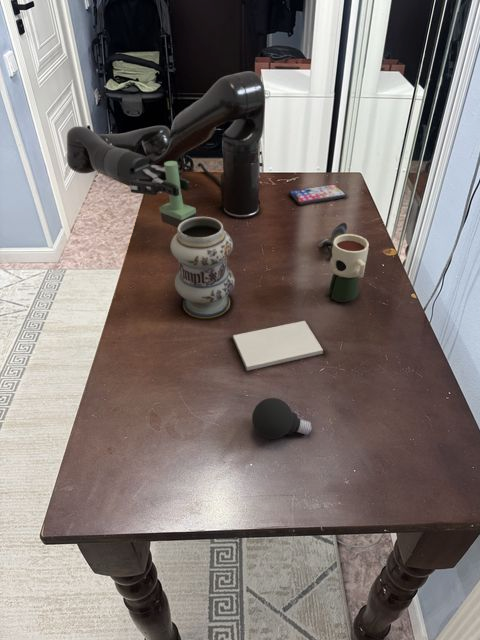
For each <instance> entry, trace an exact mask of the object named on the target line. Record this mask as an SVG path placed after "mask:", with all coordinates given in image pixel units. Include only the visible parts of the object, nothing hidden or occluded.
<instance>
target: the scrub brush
mask: <svg viewBox="0 0 480 640" xmlns="http://www.w3.org/2000/svg"><path fill="white" fill-rule="evenodd" d="M164 167H165V173H166V179H167V182H168V183H171V184H174V185H177V186H178V188H179V195H178V196H173V195H170V194H168V198H169V202H167V203H164V204H162V205H161V206H159V207H158V209H159V213H160V216H161V222H162V223H164V224H167V225H170V226H172V227H174V228H177V229H178V226H179V224H180V223H182V222H183V221H185V220H187V219H190V218H194V217H197V209H196V207H194V206H191V205H189V204H186V203H184V200H183V193H182V189H181V186H180V179H179V172H178V169H179V165H178V161H168V162H165V163H164Z"/></svg>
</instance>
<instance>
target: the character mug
mask: <svg viewBox="0 0 480 640" xmlns="http://www.w3.org/2000/svg"><path fill="white" fill-rule="evenodd" d="M369 247H370V243H369V241H368V240H367V239H366V238H365V237H363V236H361V235H358V234H353V233H345V234H343V235H340V236H337V237H336V238H335V239H334V243H333V248H332V257H331V259H330V260H329V261H330V262H329V267H330V271H331V273H333V274H332V277H331V280H330V283H329V286H328V296H330V295H331V299H333V300H335V301H336V302H342V303H347V302H350V301H353V300H355V299H356V298H358V296H359V278H363V277H364V275H365V269H366V263H367V258H368V253H369ZM330 293H332V294H330Z"/></svg>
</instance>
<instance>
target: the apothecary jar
mask: <svg viewBox="0 0 480 640" xmlns="http://www.w3.org/2000/svg"><path fill="white" fill-rule="evenodd" d="M224 229H225V228H224V225H223V224H222V222H221V221H220V220H218V219H217V218H214V217H210V216H196V217H194V218H190V219H187V220H185V221H183V222H182V223H180V224H179V226H178V228H177V231H176V234H174V236H173V237H172V239H171V242H170V251H171V254H172V255H173V257H174V258H175V259H176V260H177V261H178V266H179V271H178V273H176V276H175V279H174V288H175V290H176V292H177V293H178V295H180V296H181V297H182V298H183V301H182V307H183V310H184V311H185V312H186V314H188V315H189V316H191V317H193V318H197V319H213V318H216V317H220V316H222V315H223V314H225V313H226V312H227V311H228V310H229V309H230V306H231V298H230V296H229V295H230V294H231V293H232V291H233V290H234V288H235V284H236V279H235V276H234V273H233V271H232V270H231V269H230V268H229V267H228V257H230V255H231V254H232V251H233V248H234V241H233V239H232V237H231V235H229V233H228V232H227V231H226V230H224Z"/></svg>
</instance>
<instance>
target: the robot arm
mask: <svg viewBox="0 0 480 640" xmlns="http://www.w3.org/2000/svg"><path fill="white" fill-rule="evenodd" d="M265 111H266V92H265V86H264V84H263V80H262V78H261V77H260V75H258V74H257V72H254V71H251V70H247V71H240V72H236V73H233V74H232V73H231V74H228V75H225V76H222V77H220V78H219V79H218V80H217V81H216V82H215V83H213V84H212V86H211V87H210V88H209V89H208V90H207V91H206V93H205V94H203V96H202V97H201V98H199V99H197V100H195V101H194V102H193V103H191V104H190V105H188V106H187V107H185V108H184V109H183V110H181V111H180V112H179V113H178V114H177V115H176V116H175V118H174V119H173V121H172V124H171V127H170V128H169V127H168V126H166V125H153V126H149V127H144V128H139V129H134V130H130V131H127V132H121V133H103V134H97V133H96V132H95V131H93V130H92V129H90V128H87V127H85V126H79V125H77V126H73V127H71V128H70V129H68V131H67V133H66V163H67V166H68V167H69V168H70V170H72V171H73V172H75V173H78V174H85V175H86V174H90V173H94V172H97V173H98V174H101V175H104V176H106V177H109V178H111V179H112V180H113V181H115V182H117V183H120V184H123V185H125V186H129V189H130V193H133V194H138V195H139V194H141V195H150V196H156V195H158V193H160V194H168V195H169V194H170V195H173V196H178V195H179V188H178V186H177V185H174V184H171V183H168V182H167V179H166V173H165V167H164V163H165V162H168V161H176V162H178V161H179V160H180V159H181V158H182V157H183V156H184V155H185V154H186V153H188V152H189V151H191V150H194V149H196V148H197V147H199V146H201V145H202V144H204V143H206V142H207V141H208V140H210V139H211V138H212V137H213V136H214V134H215V132H216V128H217V127H219V126H221V125H223V124H227V123H230V122H232V123H231V124H230V126H229V127H228V128H227V129H226V130H225V131H224V132H223V134H222V137H221V144H222V169H223V170H222V173H221V174H220V179H219V178H218V177H217V176H216V175H214V174H213V173H212V172H211V171H208V169H206V167H205V165H204V164H203V163H202V162H199V163H197V167H198V168H199V167H200V168H201V170H202V171H203V172H204V173H205V174H206V175H208V177H210V178H212V179H213V180H214V181H215V182H216V183H218V185H219V187H220V197H221V209H222V210H223V211H224V214H226V215H227V216H229V217H232V218H236V219H246V218H251V217H254V216H256V215H257V214H258V213H259V211H260V206H261V201H260V158H261V157H260V156H261V155H260V152H261V147H260V146H261V140H262V136H263V135H264V134H263V133H264V124H265V123H264V122H265ZM140 144H142V147H143V150H144V153H145V155H143V154H140V153H137V152H136V151H137V149H138V148H139V146H140ZM178 172H179V179H180V186H181V190H183V191H185V192H188V191H189V190H191V185H190V180H188V179H186V178H184V177H182V170H181V169H180V168H178Z"/></svg>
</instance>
